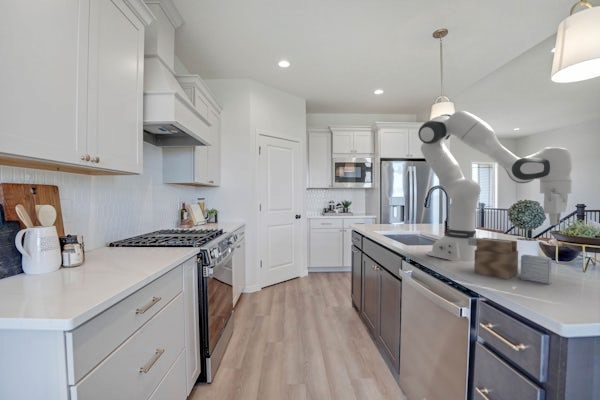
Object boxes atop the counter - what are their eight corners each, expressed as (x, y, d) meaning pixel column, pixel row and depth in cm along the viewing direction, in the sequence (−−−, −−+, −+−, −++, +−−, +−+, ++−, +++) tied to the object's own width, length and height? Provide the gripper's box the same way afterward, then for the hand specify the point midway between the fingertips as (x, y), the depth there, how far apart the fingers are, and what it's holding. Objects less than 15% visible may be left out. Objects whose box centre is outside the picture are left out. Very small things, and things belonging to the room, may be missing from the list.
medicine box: (551, 282, 95) (551, 257, 95) (549, 284, 92) (550, 259, 92) (523, 276, 101) (523, 254, 101) (520, 279, 98) (520, 255, 98)
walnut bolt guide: (474, 272, 106) (474, 240, 106) (485, 267, 113) (485, 237, 113) (508, 279, 97) (509, 244, 97) (517, 273, 105) (518, 240, 105)
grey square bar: (468, 245, 112) (468, 237, 112) (471, 244, 113) (471, 237, 113) (509, 250, 101) (509, 242, 101) (511, 249, 102) (512, 241, 102)
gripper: (561, 188, 94) (561, 227, 95) (570, 189, 107) (570, 223, 107) (538, 188, 99) (538, 225, 100) (549, 189, 112) (549, 222, 112)
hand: (554, 224), depth 104 cm, fingers open, 4 cm apart
